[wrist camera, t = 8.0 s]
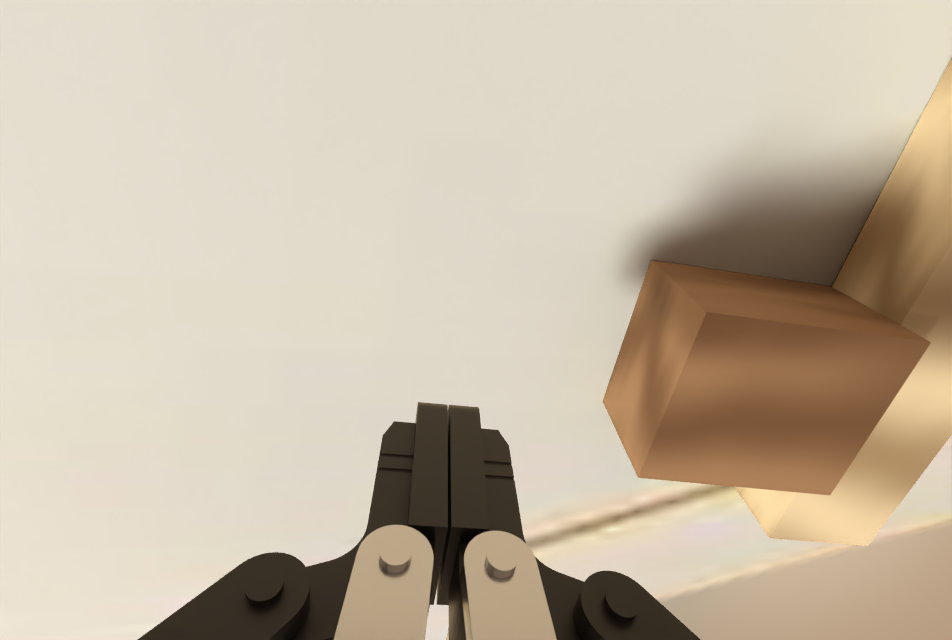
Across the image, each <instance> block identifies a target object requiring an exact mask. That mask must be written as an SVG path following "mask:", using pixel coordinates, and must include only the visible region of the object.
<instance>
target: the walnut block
mask: <svg viewBox="0 0 952 640" xmlns="http://www.w3.org/2000/svg"><path fill="white" fill-rule="evenodd" d="M930 344H931V342H930V341H928V340H926V339H924V338H922V337H921V336H919V335H917V334H915V333H914V332H912V331H910V330H908V329H906V328H905V327H903V326H901V325H899V324H897V323H896V322H894V321H892V320H890V319H888V318H887V317H885V316H883V315H881V314H880V313H878V312H876V311H874V310H872V309H871V308H869V307H867V306H865V305H863V304H862V303H860V302H858V301H856V300H854V299H853V298H851V297H849V296H847V295H846V294H844V293H842V292H840V291H838V290H837V289H835V288H833V287H831V286H826V285H819V284H812V283H805V282H798V281H791V280H785V279H778V278H771V277H764V276H757V275H750V274H744V273H737V272H730V271H723V270H716V269H709V268H703V267H696V266H689V265H682V264H675V263H668V262H661V261H655V260H651V261H650V264H649V267H648V270H647V273H646V276H645V279H644V282H643V285H642V287H641V290H640V293H639V296H638V299H637V302H636V305H635V308H634V311H633V314H632V317H631V320H630V323H629V326H628V329H627V331H626V334H625V337H624V340H623V343H622V346H621V349H620V352H619V355H618V358H617V361H616V364H615V367H614V370H613V373H612V376H611V378H610V381H609V384H608V387H607V390H606V393H605V396H604V399H603V403H604V405H605V407H606V409H607V411H608V414H609V416H610V418H611V420H612V422H613V424H614V427H615V429H616V431H617V433H618V435H619V437H620V440H621V442H622V444H623V446H624V448H625V450H626V453H627V455H628V457H629V459H630V461H631V463H632V465H633V468H634V470H635V472H636V474H637V476H638V478H648V479H659V480H669V481H680V482H691V483H702V484H712V485H723V486H734V487H744V488H755V489H766V490H777V491H787V492H798V493H809V494H819V495H831V493H832V492H833V490H834V489H835V487H836V486H837V484H838V483H839V481H840V480H841V478H842V477H843V475H844V474H845V472H846V471H847V469H848V468H849V466H850V465H851V463H852V462H853V460H854V459H855V457H856V456H857V454H858V453H859V451H860V450H861V448H862V446H863V445H864V443H865V442H866V440H867V439H868V437H869V436H870V434H871V433H872V431H873V430H874V428H875V427H876V425H877V424H878V422H879V421H880V419H881V418H882V416H883V415H884V413H885V412H886V410H887V409H888V407H889V406H890V404H891V403H892V401H893V400H894V398H895V397H896V395H897V393H898V392H899V390H900V389H901V387H902V386H903V384H904V383H905V381H906V380H907V378H908V377H909V375H910V374H911V372H912V371H913V369H914V368H915V366H916V365H917V363H918V362H919V360H920V359H921V357H922V356H923V354H924V353H925V351H926V350H927V348H928V347H929V345H930Z"/></svg>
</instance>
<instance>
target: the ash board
mask: <svg viewBox="0 0 952 640" xmlns="http://www.w3.org/2000/svg"><path fill="white" fill-rule="evenodd" d="M832 287H833V288H835V289H837V290H838V291H840V292H842V293H844V294H846V295H847V296H849V297H851V298H853V299H854V300H856V301H858V302H860V303H862V304H863V305H865V306H867V307H869V308H871V309H872V310H874V311H876V312H878V313H880V314H881V315H883V316H885V317H887V318H888V319H890V320H892V321H894V322H896V323H897V324H899V325H901V326H903V327H905V328H906V329H908V330H910V331H912V332H914V333H915V334H917V335H919V336H921V337H922V338H924V339H926V340H928V341H930V342H931V344H930V345H929V347H928V348H927V350H926V351H925V353H924V354H923V356H922V357H921V359H920V360H919V362H918V363H917V365H916V366H915V368H914V369H913V371H912V372H911V374H910V375H909V377H908V378H907V380H906V381H905V383H904V384H903V386H902V387H901V389H900V390H899V392H898V393H897V395H896V397H895V398H894V400H893V401H892V403H891V404H890V406H889V407H888V409H887V410H886V412H885V413H884V415H883V416H882V418H881V419H880V421H879V422H878V424H877V425H876V427H875V428H874V430H873V431H872V433H871V434H870V436H869V437H868V439H867V440H866V442H865V443H864V445H863V446H862V448H861V450H860V451H859V453H858V454H857V456H856V457H855V459H854V460H853V462H852V463H851V465H850V466H849V468H848V469H847V471H846V472H845V474H844V475H843V477H842V478H841V480H840V481H839V483H838V484H837V486H836V487H835V489H834V490H833V492H832V493H831V495H819V494H809V493H798V492H787V491H777V490H766V489H755V488H744V487H735V489H736V490H737V492H738V493H739V495H740V496H741V497H742V499H743V500H744V502H745V503H746V505H747V506H748V508H749V509H750V511H751V512H752V514H753V515H754V516H755V518H756V519H757V521H758V522H759V524H760V525H761V527H762V528H763V530H764V531H765V533H766V534H767V536H768V537H769V538H774V539H787V540H800V541H813V542H826V543H839V544H852V545H864V546H868V545H869V544H870V542H871V541H872V540H873V538H874V537H875V536H876V534H877V533H878V532H879V530H880V529H881V528H882V526H883V525H884V524H885V522H886V521H887V520H888V518H889V517H890V516H891V514H892V513H893V512H894V510H895V509H896V508H897V506H898V505H899V504H900V502H901V501H902V500H903V498H904V497H905V496H906V494H907V493H908V492H909V490H910V489H911V488H912V487H913V485H914V484H915V483H916V481H917V480H918V479H919V477H920V476H921V475H922V473H923V472H924V471H925V469H926V468H927V467H928V465H929V464H930V463H931V461H932V460H933V459H934V457H935V456H936V455H937V453H938V452H939V451H940V449H941V448H942V447H943V445H944V444H945V443H946V441H947V440H948V439H949V437H950V436H951V435H952V59H951V61H950V62H949V64H948V66H947V68H946V70H945V72H944V74H943V76H942V78H941V80H940V82H939V83H938V85H937V87H936V89H935V91H934V93H933V95H932V97H931V99H930V101H929V102H928V104H927V106H926V108H925V110H924V112H923V114H922V116H921V118H920V120H919V122H918V123H917V125H916V127H915V129H914V131H913V133H912V135H911V137H910V139H909V141H908V143H907V144H906V146H905V148H904V150H903V152H902V154H901V156H900V158H899V160H898V162H897V163H896V165H895V167H894V169H893V171H892V173H891V175H890V177H889V179H888V181H887V183H886V184H885V186H884V188H883V190H882V192H881V194H880V196H879V198H878V200H877V202H876V204H875V205H874V207H873V209H872V211H871V213H870V215H869V217H868V219H867V221H866V223H865V224H864V226H863V228H862V230H861V232H860V234H859V236H858V238H857V240H856V242H855V244H854V245H853V247H852V249H851V251H850V253H849V255H848V257H847V259H846V261H845V263H844V265H843V266H842V268H841V270H840V272H839V274H838V276H837V278H836V280H835V282H834V284H833V285H832Z"/></svg>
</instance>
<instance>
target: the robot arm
mask: <svg viewBox="0 0 952 640" xmlns="http://www.w3.org/2000/svg"><path fill="white" fill-rule="evenodd" d="M436 589H437V605H449V628H448V633H447V638H446V640H700V639H699V638H698V637H697V636H696V635H695V634H694V633H693V632H691V631H690V630H689V629H688V628H687V627H686V626H685V625H684V624H683V623H681V622H680V621H679V620H678V619H677V618H676V617H675V616H674V615H673V614H672V613H670V612H669V611H668V610H667V609H666V608H665V607H664V606H663V605H661V604H660V603H659V602H658V601H657V600H656V599H655V598H654V597H653V596H652V595H650V594H649V593H648V592H647V591H646V590H645V589H644V588H643V587H642V586H641V585H639V584H638V583H637V582H636V581H634V580H633V579H631V578H629V577H628V576H625V575H623V574H621V573H618V572H613V571H600V572H596V573H594V574H592V575H591V576H589V577H588V578H587V579H586V581H585V582H583V581H580V580H578V579H575V578H572V577H570V576H567V575H564V574H561V573H559V572H556V571H554V570H552V569H550V568H549V567H547V566H545V565H544V564H543V563H541V562H540V561H539V560H538V559H537V558H536V557H535V556H534V554H533V552H532V550H531V549H530V548H529V546H528V545H527V544H526V542H525V540H524V536H523V531H522V525H521V519H520V513H519V506H518V500H517V494H516V488H515V482H514V475H513V469H512V466H511V457H510V450H509V445H508V444H507V442H506V441H505V440H504V438H503V437H502V435H501V434H500V432H499V431H498V430H491V429H481V424H480V413H479V408H478V407H467V406H456V405H449V408H448V407H447V405H444V404H432V403H421V402H418V407H417V415H416V423H406V422H393V424H392V425H391V426H390V427H389V429H388V430H387V431H386V432H385V434H384V435H383V438H382V444H381V450H380V456H379V461H378V467H377V473H376V479H375V485H374V491H373V497H372V503H371V508H370V514H369V520H368V525H367V529H366V532H365V534H364V536H363V538H362V539H361V541H360V542H359V543H358V544H357V545H356V546H355V547H354V548H353V549H352V550H351V551H349V552H348V553H346V554H345V555H343V556H341V557H339V558H337V559H334V560H331V561H328V562H324V563H320V564H316V565H312V566H308V567H305V565H304V564H303V563H302V562H301V561H300V560H298V559H297V558H296V557H294V556H291V555H289V554H285V553H278V552H275V553H266V554H261V555H258V556H255V557H253V558H251V559H248V560H246V561H245V562H243V563H242V564H240V565H239V566H237V567H236V568H235V569H233V570H232V571H231V572H229V573H228V574H227V575H225V576H224V577H222V578H221V579H220V580H218V581H217V582H216V583H214V584H213V585H212V586H210V587H209V588H207V589H206V590H205V591H203V592H202V593H201V594H199V595H198V596H197V597H195V598H194V599H192V600H191V601H190V602H188V603H187V604H186V605H184V606H183V607H182V608H180V609H179V610H177V611H176V612H175V613H173V614H172V615H171V616H169V617H168V618H167V619H165V620H164V621H163V622H161V623H160V624H158V625H157V626H156V627H154V628H153V629H152V630H150V631H149V632H148V633H146V634H145V635H143V636H142V637H141V638H139V639H138V640H425V634H426V625H427V617H428V612H429V606H430V605H434V600H435V594H436Z"/></svg>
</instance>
